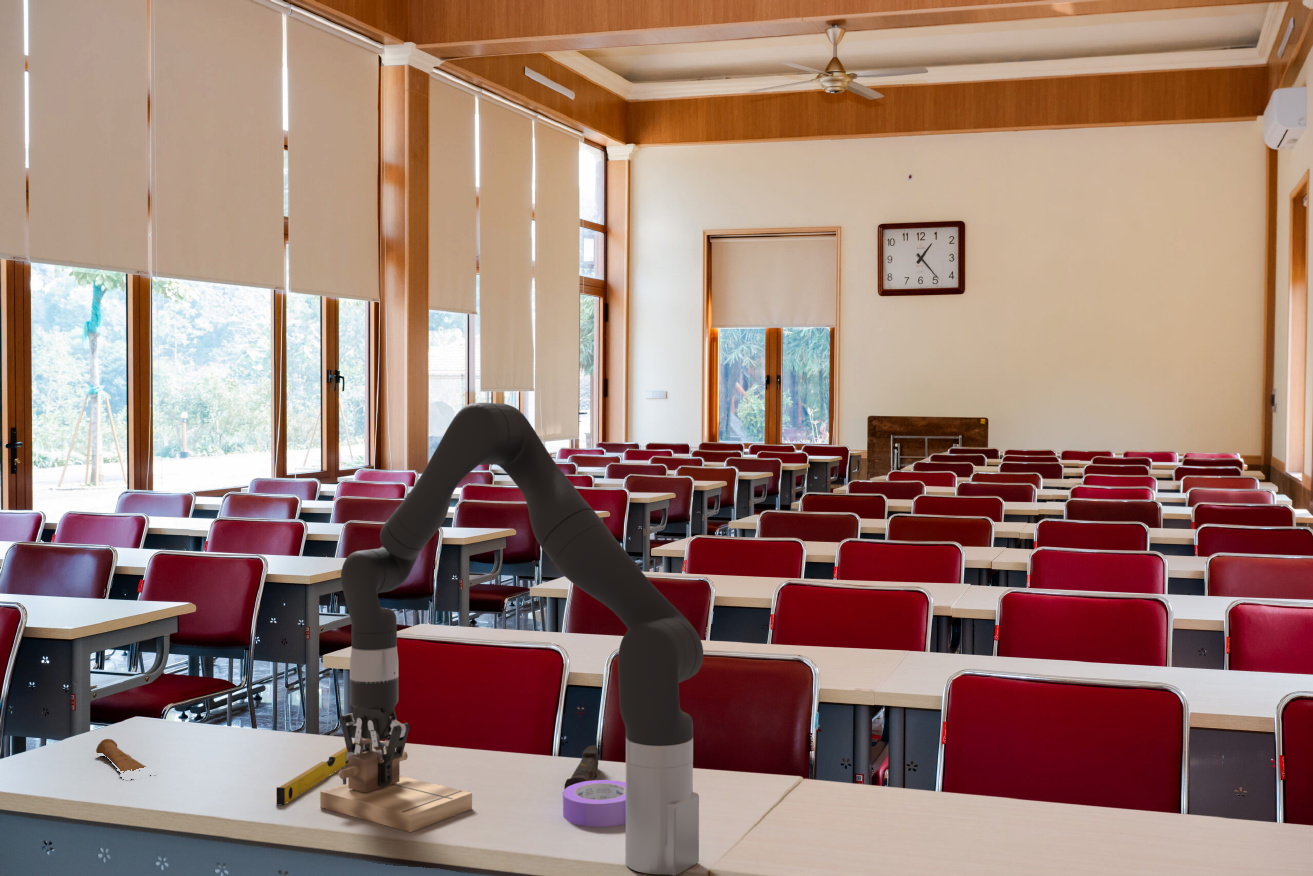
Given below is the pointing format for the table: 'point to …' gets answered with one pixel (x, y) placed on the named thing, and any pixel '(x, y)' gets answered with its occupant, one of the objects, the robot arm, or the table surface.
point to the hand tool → (585, 767)
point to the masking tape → (595, 803)
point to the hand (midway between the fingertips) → (374, 782)
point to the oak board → (399, 803)
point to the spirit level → (312, 776)
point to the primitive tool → (118, 756)
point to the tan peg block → (367, 771)
